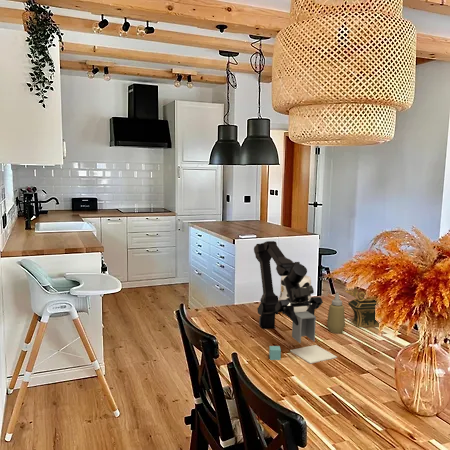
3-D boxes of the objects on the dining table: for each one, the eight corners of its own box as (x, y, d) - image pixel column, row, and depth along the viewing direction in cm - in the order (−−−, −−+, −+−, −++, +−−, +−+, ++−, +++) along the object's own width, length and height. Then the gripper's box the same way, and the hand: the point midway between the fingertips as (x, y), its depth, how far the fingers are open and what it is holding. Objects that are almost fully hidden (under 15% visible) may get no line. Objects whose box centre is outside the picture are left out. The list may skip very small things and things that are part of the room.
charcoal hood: (306, 335, 174) (307, 311, 172) (314, 341, 167) (315, 316, 166) (291, 337, 172) (292, 312, 170) (299, 343, 165) (300, 318, 164)
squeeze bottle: (346, 329, 200) (348, 291, 198) (343, 335, 192) (345, 296, 190) (328, 327, 203) (330, 289, 201) (324, 332, 196) (326, 294, 194)
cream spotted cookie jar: (273, 306, 233) (274, 274, 230) (303, 305, 237) (304, 272, 234) (285, 317, 216) (286, 282, 214) (317, 315, 220) (318, 280, 218)
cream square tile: (316, 345, 181) (316, 344, 181) (337, 357, 169) (337, 356, 169) (290, 351, 175) (290, 350, 175) (310, 363, 164) (310, 362, 164)
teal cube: (279, 355, 171) (279, 346, 170) (280, 360, 167) (280, 350, 166) (269, 355, 171) (269, 346, 170) (270, 360, 167) (270, 350, 166)
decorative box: (378, 320, 214) (380, 281, 211) (388, 327, 204) (391, 286, 202) (340, 321, 211) (341, 282, 208) (348, 329, 201) (350, 287, 199)
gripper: (279, 280, 167) (291, 316, 158) (321, 277, 173) (335, 312, 164) (270, 294, 176) (281, 330, 167) (310, 291, 182) (323, 325, 173)
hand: (305, 324), depth 167 cm, fingers closed on charcoal hood, 6 cm apart
